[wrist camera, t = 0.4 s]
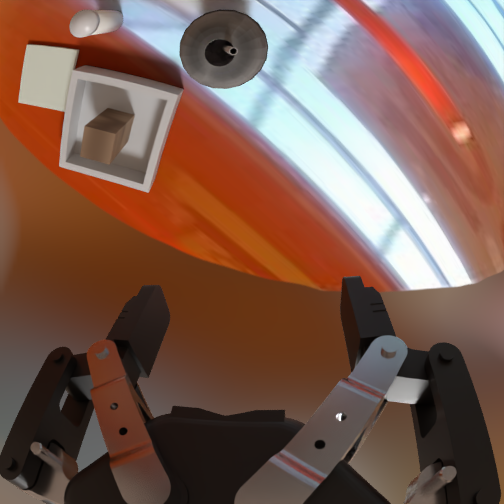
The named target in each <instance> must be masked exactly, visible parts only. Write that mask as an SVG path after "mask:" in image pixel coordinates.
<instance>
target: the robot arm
mask: <svg viewBox="0 0 504 504" xmlns="http://www.w3.org/2000/svg"><path fill="white" fill-rule="evenodd" d="M340 312H341V313H340V314H341V321H342V326H343V331H344V336H345V341H346V346H347V351H348V356H349V362H350V367H351V374H350V376H349V377H348V378H347V379H345V378H343V379H342V380H340V382H339V383H338V384H337V385H336V387H335V388H334V389H333V391H332V392H331V393H330V395H329V396H328V397H327V398H326V400H325V401H324V402H323V403H322V405H321V406H320V407H319V408H318V409H317V411H316V412H315V413H314V414H313V416H312V417H311V418H310V419H309V420H308V422H307V423H306V424H303V423H302V422H299V421H297V420H294V419H290V418H285V410H255V411H250V412H245V413H240V414H235V415H229V416H224V415H220V414H217V413H213V412H210V411H206V410H203V409H200V408H191V407H180V406H173V407H172V411H171V413H170V414H165V415H161V416H158V417H156V418H154V417H153V415H152V413H151V411H150V409H149V407H148V404H147V402H146V400H145V398H144V396H143V393H142V391H141V389H140V386H139V384H138V383H137V381H138V378H139V377H145V378H148V377H149V375H150V372H151V370H152V367H153V364H154V362H155V359H156V356H157V354H158V351H159V349H160V346H161V343H162V341H163V338H164V336H165V333H166V330H167V328H168V325H169V322H170V312H169V309H168V306H167V303H166V300H165V297H164V294H163V291H162V289H161V287H160V286H159V285H144V286H142V288H141V290H140V291H139V293H138V295H137V296H134V297H132V299H131V300H129V301H128V302H127V303H126V304H125V306H124V308H123V310H122V312H121V313H120V315H119V317H118V319H117V320H116V322H115V323H114V325H113V327H112V329H111V331H110V332H109V334H108V336H107V338H106V340H100V341H98V342H96V343H94V344H93V345H92V346H91V347H90V348H89V350H88V352H87V353H83V354H77V355H73V354H72V352H71V350H70V349H69V348H67V347H59V348H57V349H55V350H53V351H52V352H51V353H50V354H49V355H48V357H47V359H46V360H45V362H44V364H43V366H42V368H41V370H40V371H39V373H38V375H37V377H36V379H35V381H34V383H33V385H32V387H31V389H30V390H29V393H28V394H27V397H26V398H25V401H24V403H23V405H22V407H21V409H20V411H19V413H18V415H17V417H16V420H15V422H14V424H13V426H12V428H11V431H10V433H9V435H8V438H7V440H6V442H5V445H4V447H3V450H2V452H1V455H0V474H1V476H2V477H3V478H5V479H6V480H8V481H9V482H11V483H12V484H14V485H15V486H16V487H18V488H19V489H21V490H22V491H24V492H25V493H27V494H29V495H30V496H32V497H34V498H36V499H38V500H41V501H43V502H45V503H46V504H391V503H390V502H389V501H387V499H386V498H385V497H383V496H382V495H381V494H380V493H379V492H378V491H377V490H376V489H374V488H373V487H372V486H371V485H370V484H369V483H368V482H367V481H366V480H365V479H364V478H363V477H362V476H361V475H359V474H358V473H357V472H356V471H355V470H354V469H353V468H352V467H351V466H350V465H349V463H350V462H351V460H352V459H353V458H354V456H355V455H356V453H357V452H358V450H359V449H360V447H361V446H362V444H363V442H364V441H365V439H366V437H367V436H368V434H369V432H370V431H371V429H372V428H373V426H374V424H375V423H376V421H377V420H378V418H379V416H380V415H381V413H382V411H383V410H384V408H385V406H386V404H387V403H388V401H394V402H402V403H409V404H410V407H411V412H412V417H413V423H414V429H415V435H416V441H417V448H418V455H419V463H420V471H421V473H420V474H418V475H417V477H415V478H414V479H413V480H412V481H411V482H410V484H409V486H408V488H407V491H406V498H405V502H404V504H499V502H500V497H501V490H500V484H499V478H498V473H497V468H496V463H495V459H494V454H493V450H492V446H491V442H490V438H489V434H488V431H487V427H486V424H485V420H484V417H483V413H482V410H481V407H480V404H479V400H478V398H477V394H476V392H475V389H474V386H473V383H472V380H471V377H470V374H469V372H468V369H467V367H466V364H465V361H464V359H463V356H462V354H461V352H460V351H459V349H458V348H457V347H455V346H454V345H452V344H449V343H437V344H435V345H433V346H432V347H431V349H430V351H429V352H427V351H420V350H413V349H409V348H407V346H406V345H405V343H404V342H403V341H402V340H400V339H399V338H397V337H396V335H395V332H394V329H393V326H392V324H391V321H390V318H389V316H388V313H387V311H386V308H385V305H384V304H383V300H382V297H381V295H380V293H379V292H377V291H376V290H375V289H374V288H373V287H364V285H363V282H362V279H361V277H360V276H352V277H343V279H342V290H341V304H340ZM65 390H66V391H67V392H68V393H69V394H68V396H67V398H66V401H65V403H64V405H63V408H62V410H61V411H60V407H59V403H60V400H61V398H62V396H63V393H64V391H65ZM94 408H95V412H96V415H97V418H98V422H99V425H100V429H101V432H102V435H103V438H104V441H105V444H106V447H107V450H108V452H107V453H105V454H104V455H103V456H101V457H100V458H99V459H97V460H96V461H94V462H93V463H92V464H90V465H89V466H88V467H86V468H84V469H83V470H82V471H80V472H78V465H77V462H76V460H77V457H78V454H79V450H80V447H81V444H82V441H83V438H84V435H85V432H86V429H87V427H88V424H89V421H90V418H91V415H92V413H93V410H94Z"/></svg>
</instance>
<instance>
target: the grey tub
mask: <svg viewBox="0 0 504 504" xmlns="http://www.w3.org/2000/svg"><path fill="white" fill-rule="evenodd" d="M183 90H184V89H182V88H179V87H175V86H172V85H168V84H165V83H161V82H158V81H154V80H150V79H146V78H142V77H139V76H134V75H130V74H126V73H122V72H117V71H113V70H108V69H103V68H98V67H93V66H88V65H84V66H82V67H79V68H77V69H74V70H73V71H72V76H71V81H70V86H69V91H68V97H67V103H66V109H65V116H64V123H63V131H62V140H61V150H60V162H59V167H63V168H66V169H70V170H73V171H77V172H80V173H84V174H87V175H91V176H94V177H98V178H101V179H104V180H108V181H111V182H115V183H118V184H121V185H125V186H128V187H131V188H135V189H138V190H141V191H145V192H148V193H149V191H150V188H151V186H152V184H153V182H154V180H155V177H156V173H157V170H158V166H159V163H160V159H161V156H162V152H163V149H164V146H165V143H166V139H167V136H168V133H169V130H170V127H171V124H172V121H173V118H174V115H175V112H176V109H177V106H178V104H179V101H180V98H181V95H182V92H183ZM107 108H110V109H114V110H118V111H122V112H126V113H130V114H133V115H135V116H134V120H133V124H132V128H131V132H130V136H129V140H128V142H127V144H126V145H125V146H124V147H123V148H122V150H121V151H120V152H119V153H118V155H117V156H116V157H115V158H114V160H113V161H112V162H111V164H110V165H108V164H105V163H101V162H98V161H94V160H91V159H87V158H83V157H80V153H81V146H82V139H83V132H84V126H85V125H86V124H88V123H89V122H90V121H91V120H93V119H94V118H95V117H96V116H98V115H99V114H100V113H102V112H103V111H104V110H106V109H107Z"/></svg>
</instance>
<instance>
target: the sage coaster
mask: <svg viewBox="0 0 504 504" xmlns="http://www.w3.org/2000/svg"><path fill="white" fill-rule="evenodd" d="M78 54H79V49H72V48H65V47H56V46H47V45H36V44H28V45H27V48H26V53H25V58H24V64H23V70H22V77H21V84H20V93H19V102H18V103H24V104H29V105H35V106H40V107H45V108H50V109H54V110H59V111H64V112H65V109H66V103H67V97H68V91H69V86H70V81H71V76H72V71H73V70H74V69H75V67H76V62H77V58H78Z"/></svg>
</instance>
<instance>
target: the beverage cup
mask: <svg viewBox="0 0 504 504" xmlns="http://www.w3.org/2000/svg"><path fill="white" fill-rule="evenodd" d="M267 51H268V44H267V39H266V35H265V33H264V31H263V30H262V28H261V27H260V25H259V24H258V23H257V22H256V21H255V20H253V19H252V18H251V17H249V16H248V15H246V14H243V13H241V12H238V11H235V10H216V11H212V12H208V13H205V14H204V15H202V16H200V17H199V18H197V19H195V20H194V21H193V22H192V23H191V24H190V25H189V27H188V28H187V29H186V30H185V32H184V34H183V37H182V39H181V42H180V58H181V61H182V64H183V67H184V69H185V70H186V71H187V73H188V74H189V75H190V77H191V78H193V79H194V80H196V81H197V82H199V83H200V84H202V85H205V86H208V87H211V88H223V89H227V88H232V87H236V86H240V85H242V84H244V83H246V82H248V81H249V80H251V79H252V78H253V77H254V76H255V75H256V74H257V73H258V72H259V71H260V70H261V69H262V67H263V65H264V63H265V61H266V59H267Z"/></svg>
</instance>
